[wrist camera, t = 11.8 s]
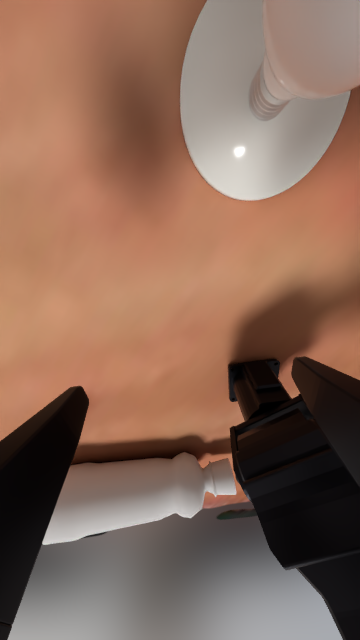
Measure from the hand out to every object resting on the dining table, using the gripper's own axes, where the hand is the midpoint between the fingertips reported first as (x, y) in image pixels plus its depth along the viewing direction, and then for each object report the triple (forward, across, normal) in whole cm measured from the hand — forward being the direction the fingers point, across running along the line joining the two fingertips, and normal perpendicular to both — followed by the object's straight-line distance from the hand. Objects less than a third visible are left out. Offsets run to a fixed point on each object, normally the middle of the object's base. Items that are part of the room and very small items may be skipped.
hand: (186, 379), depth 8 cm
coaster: (+13, -8, -13) cm, 20 cm away
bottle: (+13, +11, +31) cm, 36 cm away
